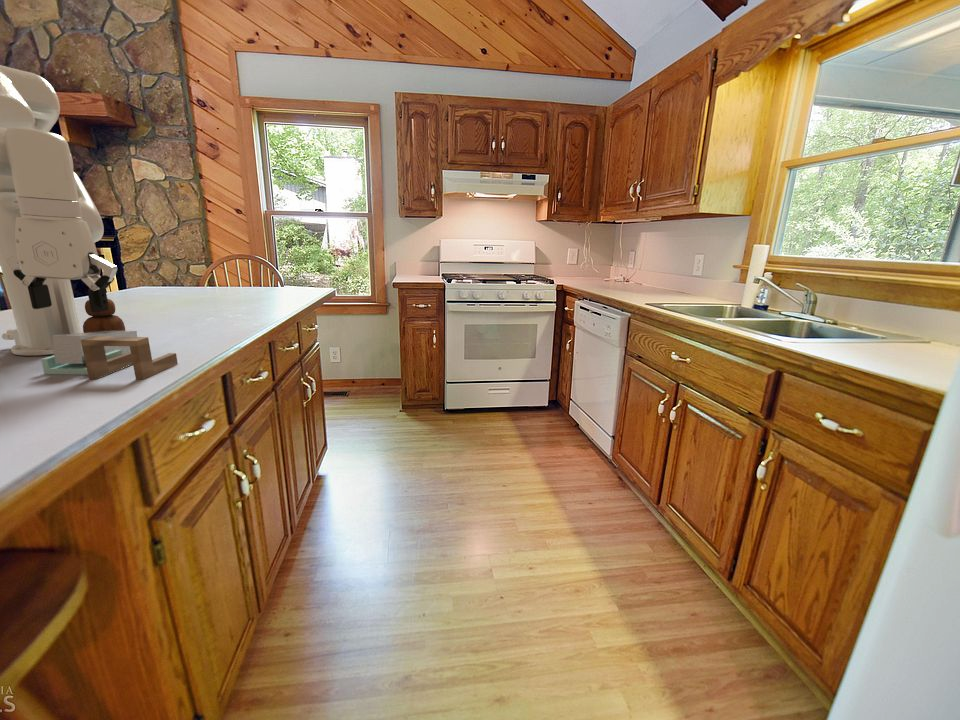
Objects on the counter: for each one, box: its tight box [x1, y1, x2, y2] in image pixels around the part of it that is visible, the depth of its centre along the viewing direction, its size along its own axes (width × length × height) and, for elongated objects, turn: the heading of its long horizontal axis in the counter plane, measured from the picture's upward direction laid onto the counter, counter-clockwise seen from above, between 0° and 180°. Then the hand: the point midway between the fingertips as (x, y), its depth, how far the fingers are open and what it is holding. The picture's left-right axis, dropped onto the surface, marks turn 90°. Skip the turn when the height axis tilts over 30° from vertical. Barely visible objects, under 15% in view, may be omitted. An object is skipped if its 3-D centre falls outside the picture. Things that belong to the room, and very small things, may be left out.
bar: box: [52, 330, 138, 364], centre depth 83 cm, size 5×14×5 cm, turn 4°
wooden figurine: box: [82, 287, 127, 333], centre depth 91 cm, size 7×6×15 cm
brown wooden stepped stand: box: [81, 336, 179, 380], centre depth 79 cm, size 9×10×7 cm
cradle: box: [40, 350, 122, 375], centre depth 80 cm, size 9×7×3 cm
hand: (71, 309), depth 78 cm, fingers open, 9 cm apart
